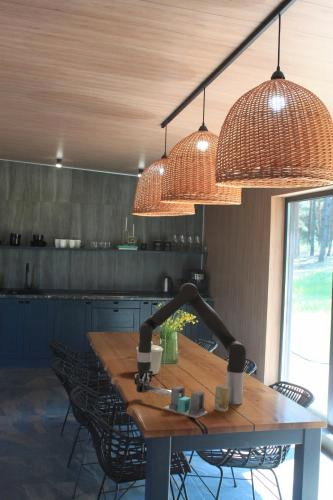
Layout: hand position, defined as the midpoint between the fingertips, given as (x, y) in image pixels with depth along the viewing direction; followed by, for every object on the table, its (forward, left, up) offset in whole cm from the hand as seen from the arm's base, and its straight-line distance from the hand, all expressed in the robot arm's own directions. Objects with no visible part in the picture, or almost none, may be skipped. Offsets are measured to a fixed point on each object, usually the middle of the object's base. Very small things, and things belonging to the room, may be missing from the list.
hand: (142, 391), depth 277 cm
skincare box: (-16, +40, -5) cm, 44 cm away
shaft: (0, +11, 0) cm, 11 cm away
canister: (-50, -35, -5) cm, 61 cm away
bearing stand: (0, +28, -4) cm, 29 cm away
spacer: (0, +27, -4) cm, 28 cm away
